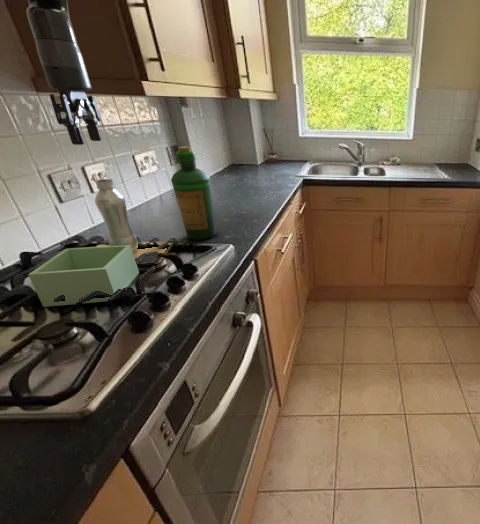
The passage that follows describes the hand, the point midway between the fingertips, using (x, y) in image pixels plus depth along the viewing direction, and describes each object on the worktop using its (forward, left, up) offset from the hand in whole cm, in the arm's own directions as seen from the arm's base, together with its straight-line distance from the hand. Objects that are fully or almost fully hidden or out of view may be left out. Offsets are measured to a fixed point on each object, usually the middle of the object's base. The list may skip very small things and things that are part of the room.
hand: (88, 142), depth 80 cm
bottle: (+18, +14, -31) cm, 38 cm away
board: (+1, +1, -31) cm, 31 cm away
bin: (+1, -18, -31) cm, 36 cm away
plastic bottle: (+1, +1, -30) cm, 30 cm away
